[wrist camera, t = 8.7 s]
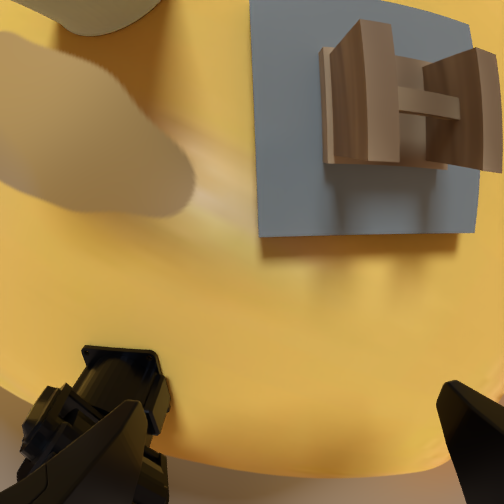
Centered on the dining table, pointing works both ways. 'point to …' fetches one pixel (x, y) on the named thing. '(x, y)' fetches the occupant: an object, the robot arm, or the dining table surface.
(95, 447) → the robot arm
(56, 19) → the can
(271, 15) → the slab
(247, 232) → the dining table surface
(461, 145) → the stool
